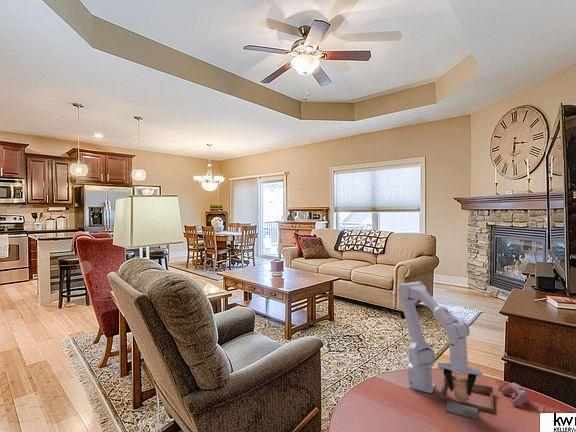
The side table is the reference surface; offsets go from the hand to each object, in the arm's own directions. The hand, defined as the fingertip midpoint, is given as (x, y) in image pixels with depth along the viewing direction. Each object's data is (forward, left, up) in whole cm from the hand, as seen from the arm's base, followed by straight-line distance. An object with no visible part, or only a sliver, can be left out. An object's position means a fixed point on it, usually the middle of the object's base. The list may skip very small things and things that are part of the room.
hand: (460, 392), depth 114 cm
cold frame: (+1, +11, -7) cm, 13 cm away
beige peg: (0, +1, -2) cm, 2 cm away
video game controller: (+17, +18, -7) cm, 25 cm away
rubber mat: (0, 0, -7) cm, 7 cm away
